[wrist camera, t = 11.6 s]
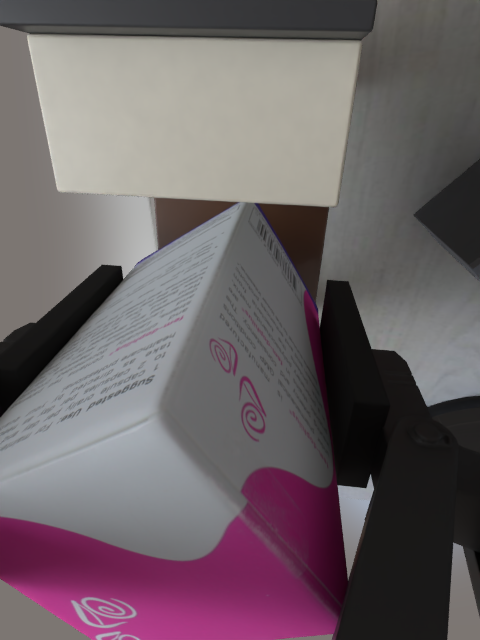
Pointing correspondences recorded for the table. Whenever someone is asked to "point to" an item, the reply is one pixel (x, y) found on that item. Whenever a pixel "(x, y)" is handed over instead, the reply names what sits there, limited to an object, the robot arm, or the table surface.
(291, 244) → the shelf
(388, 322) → the table surface
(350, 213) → the table surface
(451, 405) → the dark sector wedge
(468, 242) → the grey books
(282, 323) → the supplement box
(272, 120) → the cream books
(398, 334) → the table surface
